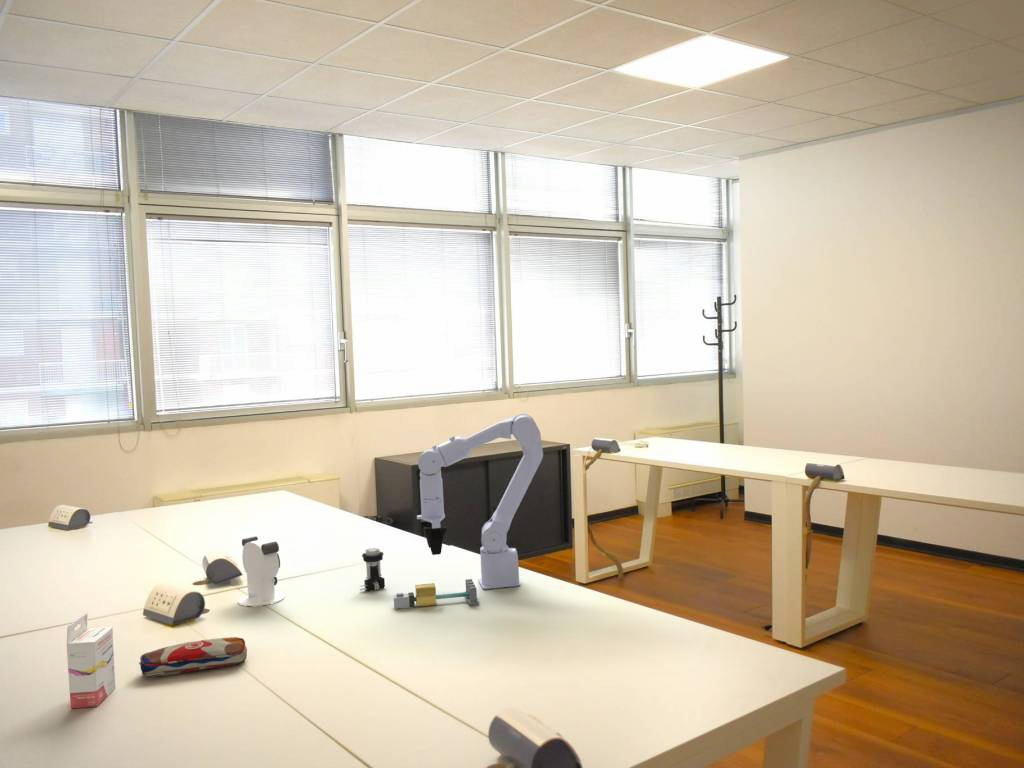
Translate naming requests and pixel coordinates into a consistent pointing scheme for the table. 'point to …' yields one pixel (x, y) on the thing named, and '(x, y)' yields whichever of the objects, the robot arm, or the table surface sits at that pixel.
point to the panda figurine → (260, 571)
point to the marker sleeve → (425, 594)
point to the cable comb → (471, 592)
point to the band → (411, 599)
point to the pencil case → (193, 656)
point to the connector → (401, 601)
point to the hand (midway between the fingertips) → (434, 550)
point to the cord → (449, 595)
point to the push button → (373, 570)
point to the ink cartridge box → (89, 664)
